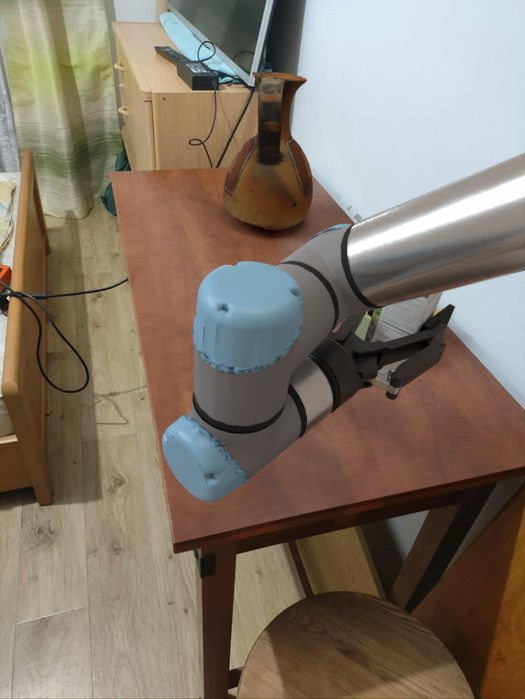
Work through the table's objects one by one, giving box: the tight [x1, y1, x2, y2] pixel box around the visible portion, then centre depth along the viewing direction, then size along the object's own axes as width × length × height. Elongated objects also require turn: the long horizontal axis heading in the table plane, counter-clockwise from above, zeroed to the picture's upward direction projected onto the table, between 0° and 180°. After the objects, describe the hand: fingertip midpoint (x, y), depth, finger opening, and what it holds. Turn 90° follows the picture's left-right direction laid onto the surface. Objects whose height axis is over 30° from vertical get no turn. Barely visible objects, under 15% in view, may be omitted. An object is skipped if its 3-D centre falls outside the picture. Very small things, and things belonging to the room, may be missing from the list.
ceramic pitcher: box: [222, 71, 314, 231], centre depth 107 cm, size 20×20×30 cm
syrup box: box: [364, 291, 444, 374], centre depth 61 cm, size 6×6×14 cm
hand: (423, 301), depth 64 cm, fingers closed on syrup box, 6 cm apart
